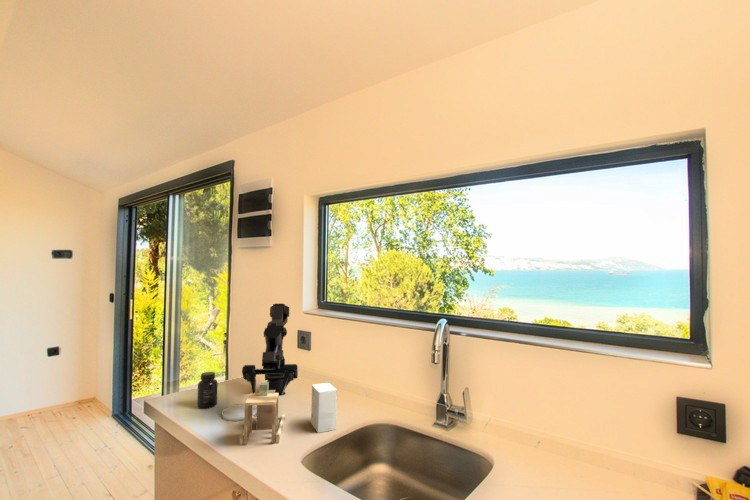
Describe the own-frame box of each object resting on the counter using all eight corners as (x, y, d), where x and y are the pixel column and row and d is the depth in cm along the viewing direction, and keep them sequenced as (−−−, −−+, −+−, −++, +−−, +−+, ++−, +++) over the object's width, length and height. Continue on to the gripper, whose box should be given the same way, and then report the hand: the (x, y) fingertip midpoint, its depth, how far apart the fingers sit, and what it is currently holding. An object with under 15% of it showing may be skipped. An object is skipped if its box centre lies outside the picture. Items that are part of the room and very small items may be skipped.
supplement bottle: (220, 402, 141) (221, 371, 141) (210, 409, 134) (212, 376, 135) (203, 401, 142) (204, 370, 142) (193, 408, 135) (194, 375, 135)
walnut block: (259, 423, 124) (260, 390, 124) (274, 422, 124) (275, 389, 125) (256, 430, 119) (257, 395, 119) (272, 429, 120) (273, 395, 120)
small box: (336, 429, 120) (337, 389, 121) (317, 433, 117) (318, 392, 118) (328, 420, 127) (329, 382, 128) (310, 423, 125) (311, 384, 125)
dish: (252, 405, 139) (252, 401, 139) (261, 416, 129) (261, 412, 129) (219, 411, 133) (219, 408, 133) (225, 423, 123) (225, 420, 123)
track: (251, 419, 127) (251, 412, 127) (285, 417, 128) (285, 411, 128) (239, 444, 109) (239, 436, 109) (278, 443, 111) (278, 434, 111)
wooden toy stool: (249, 432, 117) (250, 382, 117) (277, 430, 118) (278, 381, 118) (243, 444, 109) (245, 390, 109) (274, 443, 110) (275, 390, 110)
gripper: (243, 341, 129) (235, 383, 118) (298, 341, 132) (294, 382, 120) (247, 359, 137) (240, 400, 125) (299, 358, 139) (296, 398, 128)
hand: (267, 394), depth 124 cm, fingers open, 9 cm apart
